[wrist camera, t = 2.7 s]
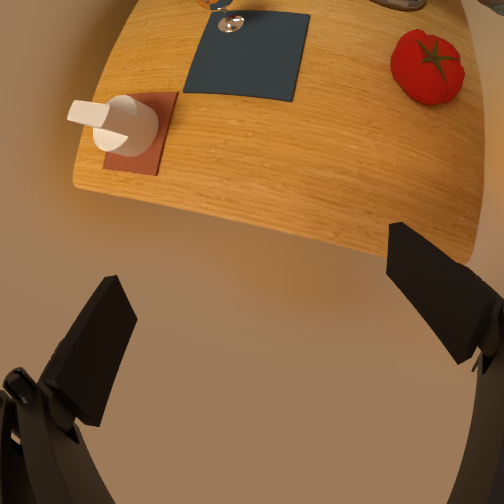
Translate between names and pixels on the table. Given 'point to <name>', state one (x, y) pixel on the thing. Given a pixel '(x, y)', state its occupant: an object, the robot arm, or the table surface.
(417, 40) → the tomato
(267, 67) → the mat
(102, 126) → the base with upright slab
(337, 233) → the table surface
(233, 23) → the wineglass
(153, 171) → the mat
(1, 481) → the robot arm
